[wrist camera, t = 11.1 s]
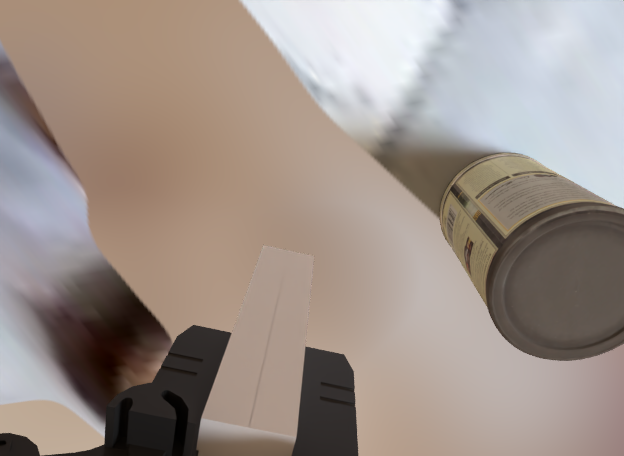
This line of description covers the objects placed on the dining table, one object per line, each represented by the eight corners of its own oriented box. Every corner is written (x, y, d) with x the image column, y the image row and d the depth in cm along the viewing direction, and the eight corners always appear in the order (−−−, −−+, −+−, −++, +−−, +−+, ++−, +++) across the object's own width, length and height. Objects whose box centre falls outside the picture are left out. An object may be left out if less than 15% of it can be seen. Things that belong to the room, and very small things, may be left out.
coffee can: (577, 230, 40) (694, 319, 27) (467, 280, 42) (526, 385, 29) (534, 127, 37) (643, 172, 24) (418, 188, 39) (460, 259, 26)
